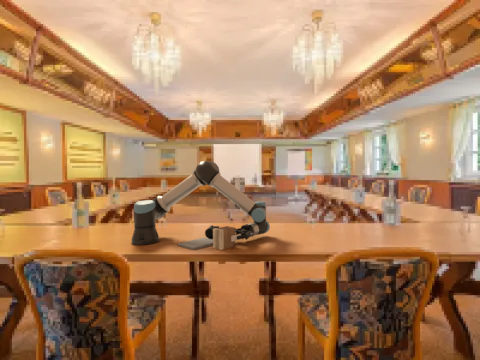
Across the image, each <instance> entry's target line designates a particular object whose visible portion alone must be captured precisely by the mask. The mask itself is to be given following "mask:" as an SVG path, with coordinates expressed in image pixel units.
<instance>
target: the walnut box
mask: <svg viewBox="0 0 480 360" xmlns="http://www.w3.org/2000/svg"><path fill="white" fill-rule="evenodd" d="M235 228H236V227H235V226H226V225H225V226H222V227H221V226H219V228H215V229H213V239H212V240H213V245H212V248H213V249H215V250H220V251H222V250H226V249H231V248H234V247H236V241H231V236H233V235H235V234H236V233H235Z"/></svg>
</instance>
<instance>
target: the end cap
mask: <svg viewBox="0 0 480 360" xmlns="http://www.w3.org/2000/svg"><path fill="white" fill-rule="evenodd" d="M215 228H220V226H218V225H217V226H215V225H213V224H212V225H209V226H208V228H207V229H205V231H204V235H205V238H208V239H212V240H213V229H215Z"/></svg>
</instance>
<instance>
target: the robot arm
mask: <svg viewBox="0 0 480 360" xmlns="http://www.w3.org/2000/svg"><path fill="white" fill-rule="evenodd" d="M206 185H207V186H208V187H213V189H215V190H217V192H218V193H220V194H221V195H223V196H225V198H226V199H228V200H230V201H231V202H232V203H234V205H236V206H237V207H238V208H239V209H241V210H242V211H243V212H244V213H246V214H247V215H248V216H250V218H251V219H252V220H253V222H251V223H250V222H249V223H246V224H242V225H241V227H238V228H236V227H235V235H233V236H231V241H235V242H236V241H239V240H248V239H249V238H251V237H252V238H254V237H256V236H258V235H263V234H266V233H268V232H269V231H270V229H271V226H270V223H269V222H268V221H267V203H266V201H253V200H252V199H251V198H249V196H247V195H246V194H245V193H243V192H242V191H241V190H240V189H239V188H237V187H236V186H234V185H233V184H232V183H231V182H229V181H228V180H227V179H226V178H225V177H223V176H222V174H221V172H220V167H219V166H218V164H217V163H216V162H214V161H211V160H202V161H200V162H198V164H197V166H196V167H195V169H193V170H192V173H191V174H190V175H189V176H188V177H186V178H185V179H184V180H182V181H181V182H179V183H178V184H177V185H176V186H174V187H172V188H171V189H170V190H168V191H167V192H166V193H164V194H163V195H157V196H156V197H155V198H153V199H152V200H151V199H148V200H147V199H146V200H145V199H144V200H139V201H136V202H135V203H134V205H133V223H134V224H133V225H134V226H133V227H134V230H133V233H132V236H131V244H132V245H137V246H142V245H143V246H144V245H151V244H152V245H153V244H156V243H158V242H159V241H160V236H159V233H158V231H157V228H156V220H159V219H162V218H163V217H164V216H165V215H166V214H168V212H170V210H171V208H172V207H173V206H174V205H175V204H178V202H180V201H181V200H183V199H184V198H186V197H187V196H188V195H189V194H191V193H192V192H194V191H195V190H197V189H198V188H199V187H201V186H202V187H205V186H206Z"/></svg>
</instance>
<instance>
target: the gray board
mask: <svg viewBox="0 0 480 360" xmlns="http://www.w3.org/2000/svg"><path fill="white" fill-rule="evenodd" d="M177 246H178V247H182V248H186V249H188V250H193V251H196V250H200V249H203V248H207V247H211V246H213V239H209V238H207V237H199V238H195V239H190V240H188V241H187V240H186V241H183V242H178V243H177Z"/></svg>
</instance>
